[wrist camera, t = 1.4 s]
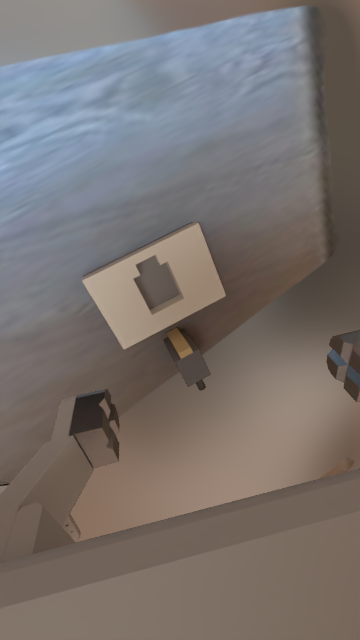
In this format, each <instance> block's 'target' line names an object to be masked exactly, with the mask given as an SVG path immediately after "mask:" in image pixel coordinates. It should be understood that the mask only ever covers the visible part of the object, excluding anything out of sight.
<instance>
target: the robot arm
mask: <svg viewBox="0 0 360 640" xmlns="http://www.w3.org/2000/svg"><path fill="white" fill-rule="evenodd" d="M329 345H330V347H331V348H332V350H331V351H330V352H329V353H328V355H327V365H328V369H329V371H330V373H331V374H332V375H333V376H334V378H335V379H337V380H339V381H341V382H343V383H344V389H345V390H346V391H347V392H348V393H349V394H350V395H351V397H352V398H353V399H354V400H355V401H356V402H360V330H356V331H352V332H348V333H344V334H340V335H336V336H333V337H332V338H331V339H330V343H329ZM118 433H119V417H118V413H117V409H116V407H115V405H114V404H112V403H111V395H110V393H109V391H108V390H107V389H104V390H99V391H95V392H90V393H85V394H80V395H77V396H72V397H67V398H63V399H62V401H61V402H60V405H59V409H58V413H57V417H56V421H55V425H54V429H53V433H52V437H51V441H47V442H46V443H45V444H44V445H43V446H42V447H41V448H40V449H39V451H38V452H37V453H36V454H35V455H34V456H33V457H32V459H31V460H30V461H29V462H28V463H27V464H26V466H25V467H24V468H23V469H22V470H21V471H20V472H19V474H18V475H17V476H16V477H15V478H14V479H13V481H12V482H11V483H10V484H9V485H6V486H0V640H360V468H359V469H355V470H351V471H347V472H343V473H340V474H336V475H332V476H328V477H324V478H320V479H317V480H313V481H309V482H305V483H301V484H298V485H294V486H290V487H286V488H282V489H278V490H275V491H271V492H267V493H263V494H260V495H256V496H252V497H248V498H244V499H241V500H237V501H233V502H229V503H225V504H221V505H218V506H214V507H210V508H206V509H203V510H199V511H195V512H192V513H187V514H184V515H180V516H176V517H173V518H168V519H165V520H161V521H157V522H153V523H149V524H146V525H142V526H138V527H134V528H130V529H127V530H123V531H119V532H115V533H112V534H107V535H103V536H100V537H96V538H92V539H88V540H85V541H81V542H77V541H78V539H79V538H80V530H79V529H78V527H77V525H76V523H75V521H74V520H73V518H72V517H71V515H70V512H71V510H72V508H73V507H74V505H75V503H76V501H77V499H78V498H79V496H80V494H81V492H82V490H83V488H84V487H85V485H86V483H87V481H88V479H89V478H90V476H91V474H92V472H93V468H97V467H100V466H104V465H107V464H111V463H115V462H118V461H119V442H118V440H117V437H116V436H117V434H118ZM76 542H77V543H76Z"/></svg>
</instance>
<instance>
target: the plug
mask: <svg viewBox="0 0 360 640" xmlns="http://www.w3.org/2000/svg"><path fill="white" fill-rule="evenodd" d="M167 335H168V337H169V338H167V339H165V340H164V342H165V344H166V346H167V348H168V350H169V352H170V354H171V356H172V357H173V359H174V361H175V363H176V365H177V367H178V369H179V371H180V373H181V375H182V376H183V378H184V380H185V382H186V384H187V386H188V387H189V386H191V385H193V384H194V383H196V384H197V386H198V388H199V390H204V389H205V387H206V386H205V384H204V382H203V380H202V379H203V378H205V377H207V376H209V375H211V374H210V372H209V369H208V367H207V365H206V363H205V361H204V359H203V357H202V354H201V352H200V350H199V348H198V347H197V346H196V344H195V343H194V342H193V341H192V339H191V338H190V337H189V335H188V334H187V333H186V331H185V330H182V331H179V330H178V329H177V327H176V328H174V329H173V330H171V331H169V332H167Z"/></svg>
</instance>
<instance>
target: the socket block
mask: <svg viewBox="0 0 360 640" xmlns="http://www.w3.org/2000/svg"><path fill="white" fill-rule="evenodd" d="M82 282H83V283H84V285H85V287H86V288H87V290H88V292H89V293H90V295H91V297H92V298H93V300H94V301H95V303H96V305H97V306H98V308H99V310H100V311H101V313H102V315H103V316H104V318H105V319H106V321H107V323H108V324H109V326H110V328H111V329H112V331H113V333H114V334H115V336H116V337H117V339H118V341H119V342H120V344H121V346H122V347H123V349H126V348H128V347H130V346H132V345H134V344H136V343H138V342H140V341H142V340H143V339H145V338H147V337H149V336H151V335H153V334H155V333H157V332H159V331H161V330H162V329H164V328H166V327H168V326H170V325H172V324H174V323H176V322H178V321H180V320H181V319H183V318H185V317H187V316H189V315H191V314H193V313H195V312H197V311H199V310H200V309H202V308H204V307H206V306H208V305H210V304H212V303H214V302H216V301H218V300H219V299H221V298H223V297H225V296H226V294H225V292H224V289H223V286H222V284H221V281H220V278H219V276H218V273H217V270H216V268H215V265H214V263H213V260H212V257H211V255H210V252H209V249H208V247H207V244H206V241H205V239H204V236H203V233H202V231H201V228H200V225H199V223H192V222H191V223H189V224H187V225H185V226H183V227H181V228H179V229H177V230H175V231H173V232H171V233H169V234H167V235H165V236H163V237H161V238H159V239H157V240H155V241H153V242H151V243H148V244H146V245H144V246H142V247H140V248H138V249H136V250H134V251H132V252H130V253H128V254H126V255H124V256H122V257H120V258H118V259H116V260H114V261H112V262H110V263H108V264H106V265H104V266H102V267H100V268H98V269H96V270H94V271H92V272H90V273H88V274H86V275H84V276H83V278H82Z"/></svg>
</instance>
